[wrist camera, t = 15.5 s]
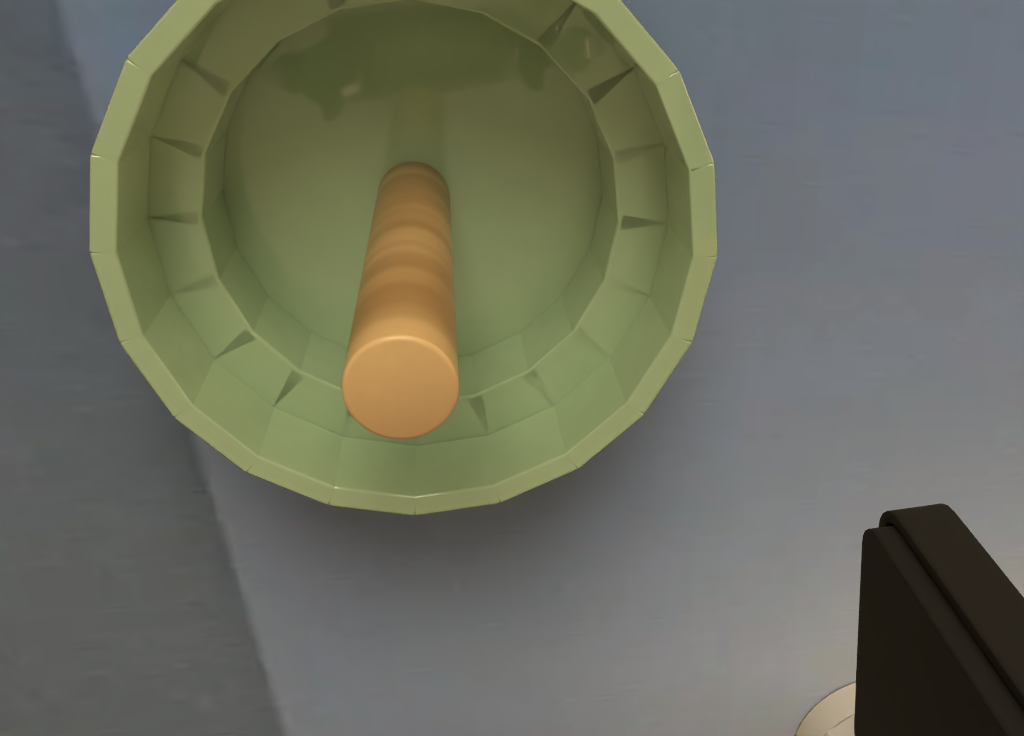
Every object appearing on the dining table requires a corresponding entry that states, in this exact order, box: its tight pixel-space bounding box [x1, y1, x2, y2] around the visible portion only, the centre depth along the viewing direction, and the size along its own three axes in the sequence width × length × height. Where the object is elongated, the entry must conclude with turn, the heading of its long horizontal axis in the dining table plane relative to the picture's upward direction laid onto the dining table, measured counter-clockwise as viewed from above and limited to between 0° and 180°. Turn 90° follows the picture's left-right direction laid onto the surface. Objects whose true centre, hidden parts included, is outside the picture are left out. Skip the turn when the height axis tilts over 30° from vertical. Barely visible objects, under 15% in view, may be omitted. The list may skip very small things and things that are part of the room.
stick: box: [341, 162, 459, 439], centre depth 22 cm, size 2×2×12 cm
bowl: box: [89, 0, 717, 515], centre depth 25 cm, size 14×14×6 cm
